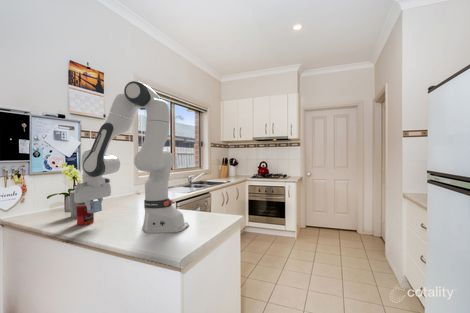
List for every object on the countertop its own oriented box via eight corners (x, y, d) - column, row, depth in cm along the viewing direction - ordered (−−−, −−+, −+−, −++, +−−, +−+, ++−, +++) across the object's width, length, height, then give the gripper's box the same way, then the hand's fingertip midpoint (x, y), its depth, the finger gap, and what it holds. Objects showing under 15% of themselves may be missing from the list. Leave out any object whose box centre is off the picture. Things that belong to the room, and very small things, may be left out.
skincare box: (85, 213, 145) (85, 188, 145) (88, 215, 140) (88, 189, 140) (69, 216, 139) (69, 190, 139) (72, 218, 134) (71, 191, 134)
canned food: (85, 226, 119) (85, 205, 119) (72, 225, 120) (72, 204, 120) (97, 221, 126) (96, 202, 126) (85, 221, 128) (84, 201, 128)
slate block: (101, 210, 119) (101, 201, 119) (94, 212, 115) (94, 202, 115) (94, 210, 120) (93, 201, 120) (87, 212, 116) (86, 203, 116)
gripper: (80, 183, 107) (82, 213, 107) (112, 179, 127) (113, 203, 127) (69, 184, 108) (71, 213, 108) (102, 179, 128) (104, 204, 128)
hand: (94, 208), depth 118 cm, fingers closed on slate block, 4 cm apart
